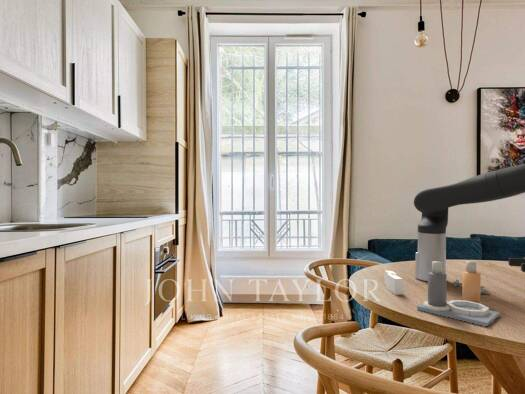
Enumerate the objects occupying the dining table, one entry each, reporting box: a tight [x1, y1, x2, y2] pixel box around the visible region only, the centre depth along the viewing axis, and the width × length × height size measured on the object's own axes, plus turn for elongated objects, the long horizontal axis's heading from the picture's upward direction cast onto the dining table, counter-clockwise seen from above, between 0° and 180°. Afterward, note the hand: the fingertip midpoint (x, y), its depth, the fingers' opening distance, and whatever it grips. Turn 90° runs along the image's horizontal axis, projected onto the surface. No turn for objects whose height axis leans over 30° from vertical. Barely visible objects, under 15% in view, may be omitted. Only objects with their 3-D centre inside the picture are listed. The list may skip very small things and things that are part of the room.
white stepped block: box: [384, 270, 404, 295], centre depth 110 cm, size 15×11×6 cm
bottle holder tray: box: [416, 261, 501, 327], centre depth 87 cm, size 16×11×13 cm
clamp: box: [453, 279, 489, 295], centre depth 110 cm, size 15×2×10 cm
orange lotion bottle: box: [461, 260, 482, 304], centre depth 95 cm, size 4×4×12 cm
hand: (515, 264), depth 92 cm, fingers open, 8 cm apart
